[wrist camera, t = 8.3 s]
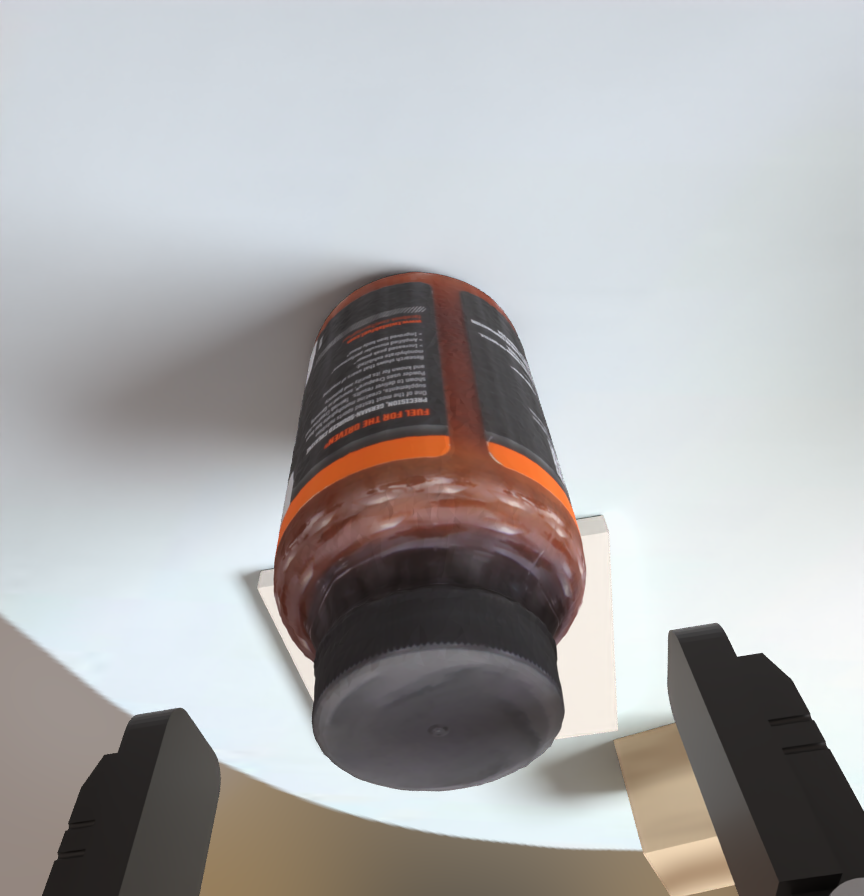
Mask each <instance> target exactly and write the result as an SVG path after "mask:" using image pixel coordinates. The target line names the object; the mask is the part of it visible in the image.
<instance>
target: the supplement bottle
mask: <svg viewBox="0 0 864 896" xmlns="http://www.w3.org/2000/svg"><path fill="white" fill-rule="evenodd" d="M273 581H274V597H275V601H276V604H277V608H278V612H279V615H280V617H281V620H282V623H283V625H284V626H285V628H286V629H287V631H288V634H289V636H290V637H291V639H292V641H293V642H294V643H295V644H296V646H297V647H298V648H299V649H300V650H301V651H302V653H303V654H304V656H305V657H307V658H308V659H310V660H311V661H312V662H313V663H314V676H315V685H314V702H313V711H312V727H313V733H314V736H315V739H316V741H317V743H318V745H319V746H320V748H321V750H322V752H323V753H324V755H326V756H327V757H328V758H329V759H330V760H331V761H332V762H333V763H334V764H335V765H337V766H338V767H339V768H341V769H342V770H344V771H345V772H347V773H349V774H351V775H352V776H354V777H356V778H358V779H360V780H363V781H366V782H369V783H373V784H376V785H380V786H385V787H389V788H394V789H399V790H409V791H448V790H455V789H462V788H467V787H472V786H478V785H482V784H485V783H488V782H492V781H494V780H497V779H500V778H502V777H504V776H506V775H509V774H511V773H513V772H515V771H517V770H518V769H520V768H523V767H526V766H527V765H528V764H529V763H530V762H532V761H533V760H534V759H536V758H537V757H539V756H540V755H542V754H543V753H544V752H545V751H546V750H547V748H549V747H550V746H551V745H552V743H553V741H554V739H555V738H556V736H557V735H558V733H559V732H560V730H561V728H562V722H563V719H564V714H565V708H564V700H563V693H562V687H561V683H560V680H559V674H558V668H557V660H558V658H557V647H556V646H557V645H558V643H559V642H560V641H561V640H562V638H563V637H564V636H565V635H566V634H567V633H568V630H569V628H570V627H571V625H572V623H573V621H574V619H575V617H576V616H577V614H578V612H579V610H580V608H581V605H582V603H583V596H584V591H585V585H586V563H585V556H584V552H583V544H582V539H581V535H580V532H579V528H578V525H577V522H576V518H575V515H574V512H573V509H572V506H571V502H570V498H569V495H568V491H567V488H566V485H565V482H564V479H563V475H562V472H561V468H560V465H559V463H558V459H557V455H556V452H555V449H554V446H553V443H552V439H551V436H550V433H549V429H548V427H547V423H546V420H545V417H544V414H543V411H542V407H541V404H540V401H539V398H538V394H537V391H536V388H535V385H534V382H533V378H532V375H531V372H530V369H529V366H528V362H527V360H526V357H525V353H524V349H523V346H522V344H521V342H520V339H519V338H518V335H517V333H516V331H515V328H514V326H513V325H512V323H511V321H510V320H509V319H508V317H507V316H506V314H505V313H504V311H503V310H502V309H501V308H500V307H499V306H498V305H497V304H496V302H495V301H494V300H493V299H492V298H490V297H489V296H488V295H486V294H485V293H484V292H482V291H480V290H479V289H477V288H476V287H474V286H472V285H470V284H468V283H466V282H463V281H460V280H458V279H454V278H451V277H448V276H443V275H439V274H433V273H422V272H409V273H404V274H398V275H392V276H389V277H385V278H382V279H379V280H376V281H374V282H372V283H369V284H367V285H365V286H363V287H361V288H359V289H358V290H356V291H354V292H353V293H352V294H350V295H349V296H348V297H346V298H345V299H344V300H343V301H341V302H340V303H339V305H338V306H337V307H336V308H335V309H334V310H333V311H332V312H331V314H330V315H329V316H328V317H327V319H326V320H325V322H324V324H323V326H322V328H321V330H320V332H319V334H318V336H317V338H316V341H315V345H314V349H313V351H312V354H311V357H310V363H309V368H308V374H307V380H306V386H305V390H304V396H303V401H302V407H301V412H300V418H299V424H298V430H297V436H296V441H295V446H294V451H293V458H292V464H291V469H290V474H289V479H288V486H287V491H286V497H285V503H284V508H283V514H282V519H281V525H280V531H279V538H278V544H277V549H276V555H275V562H274V578H273Z"/></svg>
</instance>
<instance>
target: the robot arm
mask: <svg viewBox="0 0 864 896" xmlns="http://www.w3.org/2000/svg"><path fill="white" fill-rule="evenodd" d="M667 687H668V695H669V701H670V705H671V709H672V713H673V717H674V720H675V723H676V726H677V729H678V731H679V734H680V737H681V740H682V742H683V745H684V748H685V750H686V753H687V756H688V759H689V761H690V764H691V767H692V769H693V772H694V775H695V778H696V780H697V783H698V786H699V788H700V791H701V794H702V797H703V799H704V802H705V805H706V807H707V810H708V813H709V816H710V818H711V821H712V824H713V826H714V829H715V832H716V835H717V837H718V840H719V843H720V845H721V848H722V851H723V854H724V856H725V859H726V862H727V864H728V867H729V870H730V873H731V875H732V878H733V881H734V883H735V886H736V889H737V892H738V894H739V896H864V811H863V809H862V807H861V805H860V803H859V802H858V800H857V798H856V796H855V794H854V792H853V791H852V789H851V787H850V785H849V783H848V781H847V780H846V778H845V776H844V774H843V772H842V771H841V769H840V767H839V765H838V763H837V761H836V760H835V758H834V756H833V754H832V752H831V750H830V749H828V748H827V746H826V741H825V739H824V738H823V736H822V734H821V732H820V730H819V729H818V727H817V725H816V723H815V721H814V720H812V719H811V716H810V712H809V710H808V708H807V707H806V705H805V703H804V701H803V699H802V697H801V696H800V694H799V692H798V690H797V688H796V687H795V685H794V683H793V681H792V680H791V679H790V678H789V677H788V676H787V675H786V674H785V673H784V672H783V671H782V670H780V669H779V668H778V667H777V666H776V665H775V664H774V663H773V662H772V661H770V660H769V659H768V658H767V657H766V656H765V655H764V654H763V653H759V654H752V655H746V656H740V657H737V656H736V654H735V652H734V650H733V648H732V645H731V643H730V641H729V639H728V637H727V635H726V633H725V632H724V630H723V628H722V627H721V626H720V625H719V624H718V623H713V624H706V625H700V626H694V627H688V628H682V629H675V630H670V631H669V634H668V677H667ZM220 780H221V778H220V767H219V762H218V759H217V756H216V754H215V752H214V751H213V750H212V748H211V747H210V745H209V744H208V742H207V741H206V739H205V738H204V736H203V735H202V734H201V732H200V731H199V729H198V728H197V726H196V725H195V723H194V722H193V720H192V719H191V718H190V716H189V715H188V713H187V712H186V711H185V710H184V709H182V708H175V709H169V710H163V711H157V712H151V713H144V714H138V715H135V716H134V717H133V718H132V719H131V720H130V721H129V723H128V725H127V727H126V730H125V733H124V735H123V738H122V741H121V745H120V748H119V751H118V753H113V754H107V755H104V756H103V758H102V759H101V760H100V762H99V763H98V765H97V766H96V767H95V769H94V770H93V772H92V773H91V775H90V776H89V777H88V779H87V780H86V782H85V783H84V784H83V786H82V787H81V790H80V792H79V795H78V798H77V801H76V803H75V806H74V809H73V812H72V814H71V817H70V820H69V823H68V824H69V829H68V830H67V831H65V834H64V836H63V839H62V842H61V845H60V847H59V850H58V859H57V860H56V861H54V864H53V867H52V870H51V872H50V875H49V878H48V881H47V883H46V886H45V889H44V892H43V894H42V896H199V894H200V889H201V883H202V879H203V874H204V869H205V863H206V859H207V853H208V848H209V844H210V838H211V833H212V828H213V823H214V818H215V813H216V808H217V803H218V798H219V792H220Z"/></svg>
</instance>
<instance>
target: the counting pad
mask: <svg viewBox="0 0 864 896" xmlns="http://www.w3.org/2000/svg"><path fill="white" fill-rule="evenodd" d="M576 522H577V525H578V528H579V532H580V535H581V539H582V544H583V552H584V556H585V563H586V585H585V591H584V596H583V603H582V605H581V608H580V610H579V612H578V614H577V616H576V617H575V619H574V621H573V623H572V625H571V627H570V628H569V630H568V633H567V634H566V635H565V636H564V637H563V638H562V640H561V641H560V642H559V643H558V645H557V646H556V647H557V658H558V660H557V668H558V674H559V680H560V683H561V687H562V693H563V700H564V708H565V714H564V719H563V722H562V728H561V730H560V732H559V733H558V735H557V736H556V738H555V739H561V738H569V737H576V736H583V735H590V734H598V733H605V732H612V731H618V723H617V700H616V678H615V655H614V633H613V610H612V588H611V565H610V543H609V530H608V527H607V525H606V522H605V519H604V516H603V515H602V516H596V517H590V518H584V519H578V520H576ZM273 578H274V569H270V570H263V571H261V572H260V577H259V582H258V586H257V589H258V591H259V593H260V595H261V597H262V599H263V601H264V603H265V605H266V607H267V609H268V611H269V613H270V615H271V617H272V619H273V621H274V623H275V625H276V627H277V629H278V631H279V633H280V635H281V637H282V639H283V641H284V643H285V645H286V647H287V649H288V651H289V653H290V655H291V657H292V660H293V662H294V664H295V666H296V668H297V670H298V672H299V674H300V676H301V678H302V680H303V682H304V684H305V686H306V688H307V690H308V692H309V694H310V696H311V698H312V700H313V702H314V685H315V676H314V663H313V662H312V661H311V660H310V659H308V658H307V657H305V656H304V654H303V653H302V651H301V650H300V649H299V648H298V647H297V646H296V644H295V643H294V642H293V641H292V639H291V637H290V636H289V634H288V631H287V629H286V628H285V626H284V625H283V623H282V620H281V617H280V615H279V612H278V608H277V604H276V601H275V597H274V581H273Z"/></svg>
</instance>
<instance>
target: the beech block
mask: <svg viewBox="0 0 864 896" xmlns="http://www.w3.org/2000/svg"><path fill="white" fill-rule="evenodd" d="M613 741H614V745H615V749H616V752H617V756H618V760H619V764H620V767H621V771H622V775H623V779H624V782H625V786H626V790H627V794H628V798H629V801H630V805H631V809H632V813H633V816H634V820H635V824H636V828H637V831H638V835H639V839H640V843H641V847H642V850H643V854H644V855H645V857H646V858H647V860H648V862H649V863H650V865H651V866H652V868H653V869H654V871H655V872H656V874H657V875H658V877H659V879H660V880H661V882H662V883H663V884H664V886H665V888H666V889H667V891H668V892H669V894H670V896H685V895H690V894H695V893H700V892H704V891H709V890H713V889H717V888H722V887H727V886H731V885H735V883H734V881H733V878H732V875H731V873H730V870H729V867H728V864H727V862H726V859H725V856H724V854H723V851H722V848H721V845H720V843H719V840H718V837H717V835H716V832H715V829H714V826H713V824H712V821H711V818H710V816H709V813H708V810H707V807H706V805H705V802H704V799H703V797H702V794H701V791H700V788H699V786H698V783H697V780H696V778H695V775H694V772H693V769H692V767H691V764H690V761H689V759H688V756H687V753H686V750H685V748H684V745H683V742H682V740H681V737H680V734H679V731H678V729H677V726H676V723H672V724H669V725H665V726H662V727H658V728H654V729H651V730H647V731H644V732H640V733H637V734H633V735H629V736H626V737H622V738H619V739H615V740H613Z"/></svg>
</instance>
